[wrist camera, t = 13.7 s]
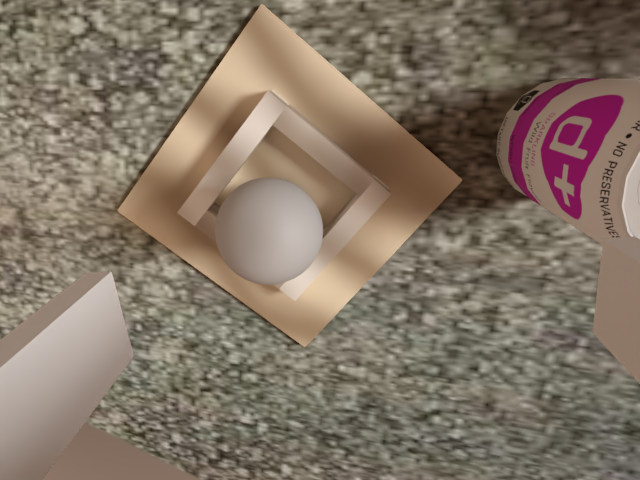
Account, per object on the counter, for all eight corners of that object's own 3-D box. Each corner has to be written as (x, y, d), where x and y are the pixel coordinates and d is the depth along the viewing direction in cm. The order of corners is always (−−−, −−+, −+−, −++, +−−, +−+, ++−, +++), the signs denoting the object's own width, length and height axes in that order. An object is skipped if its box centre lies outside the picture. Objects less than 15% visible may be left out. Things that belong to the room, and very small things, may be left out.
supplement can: (474, 178, 34) (571, 250, 20) (524, 62, 32) (675, 50, 18) (578, 211, 35) (742, 303, 21) (635, 99, 32) (868, 118, 18)
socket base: (263, 4, 31) (256, -2, 28) (460, 178, 34) (471, 186, 32) (120, 208, 36) (103, 219, 33) (305, 343, 39) (303, 362, 37)
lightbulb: (343, 201, 35) (345, 257, 24) (281, 251, 36) (258, 324, 26) (288, 136, 33) (264, 166, 23) (225, 191, 35) (177, 242, 24)
